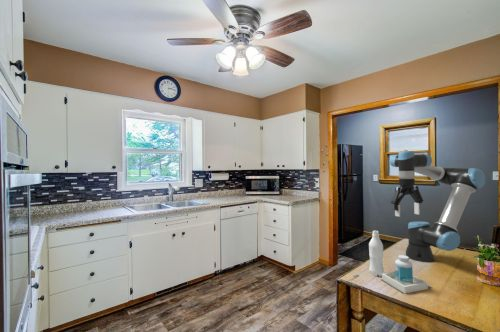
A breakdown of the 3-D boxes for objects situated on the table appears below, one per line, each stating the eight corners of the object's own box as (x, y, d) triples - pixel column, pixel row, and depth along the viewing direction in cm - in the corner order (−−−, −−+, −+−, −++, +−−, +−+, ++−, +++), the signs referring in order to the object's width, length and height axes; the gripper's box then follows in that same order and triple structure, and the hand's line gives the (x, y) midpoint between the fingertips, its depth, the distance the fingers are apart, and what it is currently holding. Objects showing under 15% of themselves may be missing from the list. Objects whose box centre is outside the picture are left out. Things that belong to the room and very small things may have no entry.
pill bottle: (416, 284, 118) (415, 257, 118) (407, 288, 115) (406, 260, 115) (400, 277, 125) (400, 252, 125) (392, 281, 122) (391, 255, 122)
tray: (403, 275, 128) (403, 270, 128) (428, 288, 115) (427, 282, 115) (381, 279, 125) (381, 273, 125) (404, 293, 112) (404, 287, 112)
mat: (407, 276, 129) (407, 274, 129) (432, 289, 116) (432, 287, 116) (380, 281, 125) (380, 279, 125) (403, 295, 111) (403, 293, 111)
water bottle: (366, 272, 135) (365, 229, 134) (378, 271, 135) (377, 228, 135) (374, 278, 128) (373, 233, 127) (386, 277, 128) (385, 232, 128)
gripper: (418, 176, 140) (418, 212, 140) (383, 178, 134) (384, 215, 134) (430, 177, 133) (431, 214, 133) (393, 179, 127) (394, 218, 127)
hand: (407, 215), depth 134 cm, fingers open, 13 cm apart
